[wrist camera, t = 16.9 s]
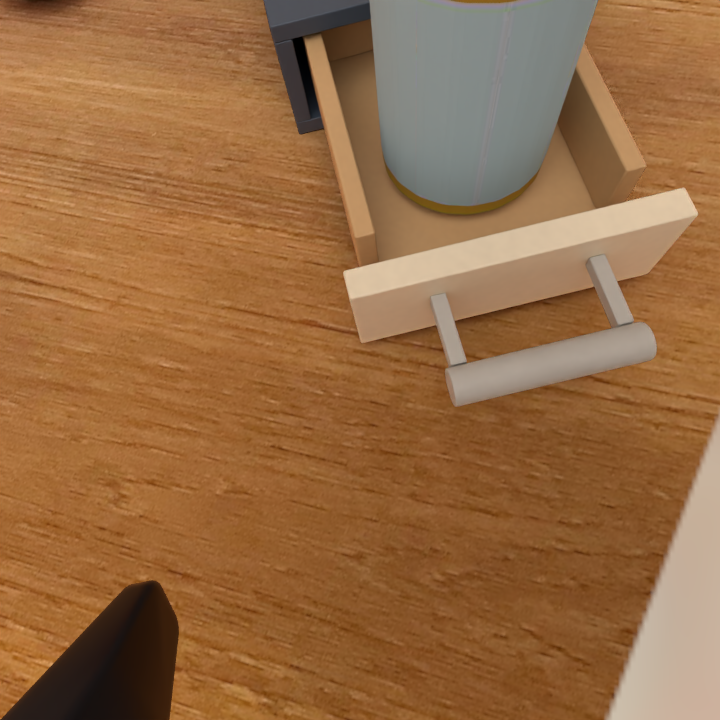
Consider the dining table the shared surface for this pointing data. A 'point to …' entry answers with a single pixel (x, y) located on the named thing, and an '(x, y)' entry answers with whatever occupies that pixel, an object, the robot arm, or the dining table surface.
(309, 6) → the cabinet
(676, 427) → the dining table surface
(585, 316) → the dining table surface
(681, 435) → the dining table surface
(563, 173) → the drawer
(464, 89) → the bottle
